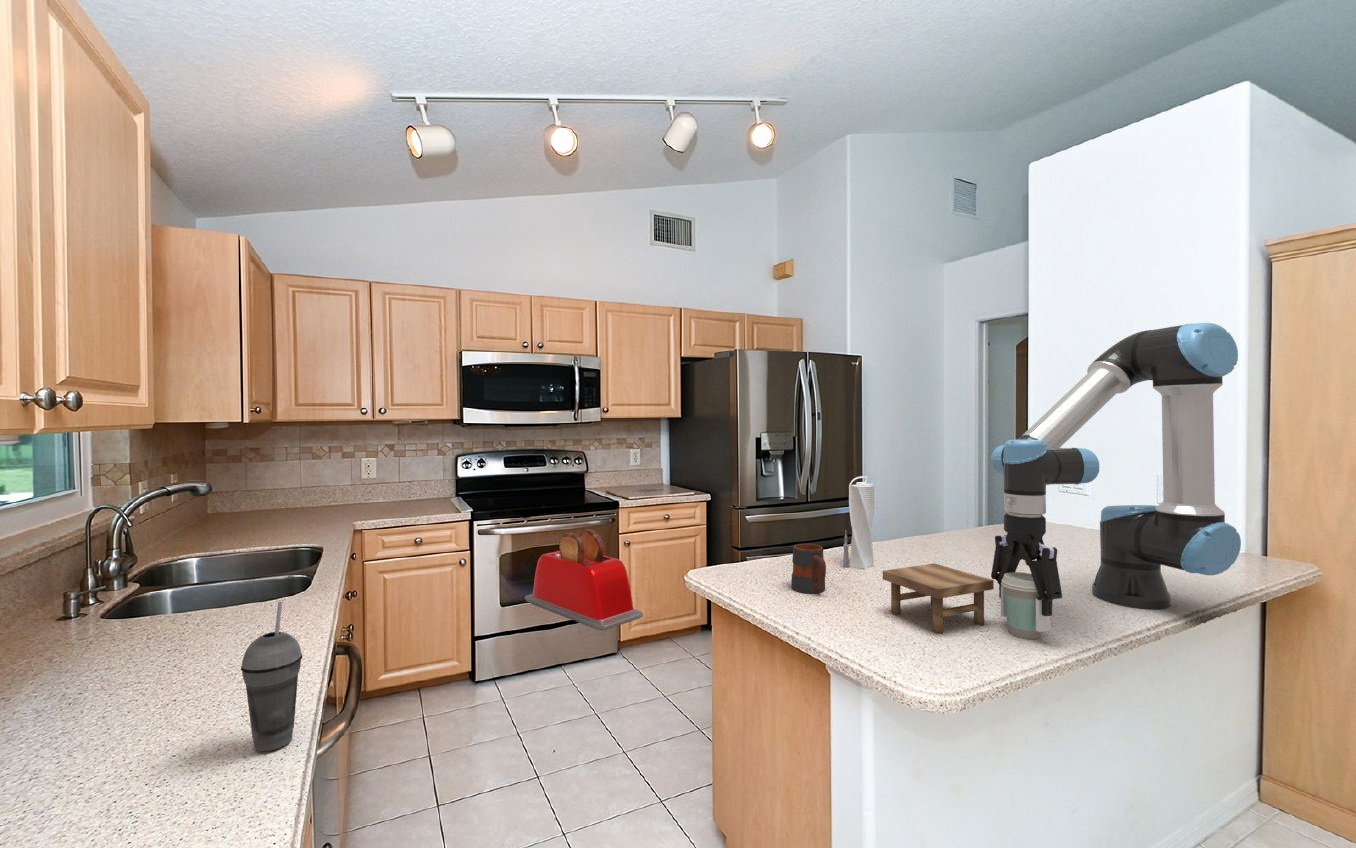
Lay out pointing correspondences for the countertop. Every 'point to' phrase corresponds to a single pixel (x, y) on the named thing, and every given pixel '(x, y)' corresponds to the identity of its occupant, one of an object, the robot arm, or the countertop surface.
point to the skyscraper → (860, 525)
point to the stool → (938, 590)
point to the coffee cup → (1021, 604)
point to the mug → (808, 569)
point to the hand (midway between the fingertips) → (1024, 622)
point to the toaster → (584, 583)
